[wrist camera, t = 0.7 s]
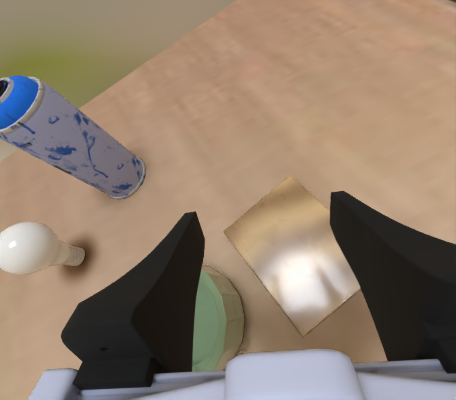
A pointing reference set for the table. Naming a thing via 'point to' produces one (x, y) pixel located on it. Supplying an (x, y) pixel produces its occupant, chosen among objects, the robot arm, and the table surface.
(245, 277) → the table surface
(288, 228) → the board
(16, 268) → the lightbulb
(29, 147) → the aerosol can
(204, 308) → the pot
